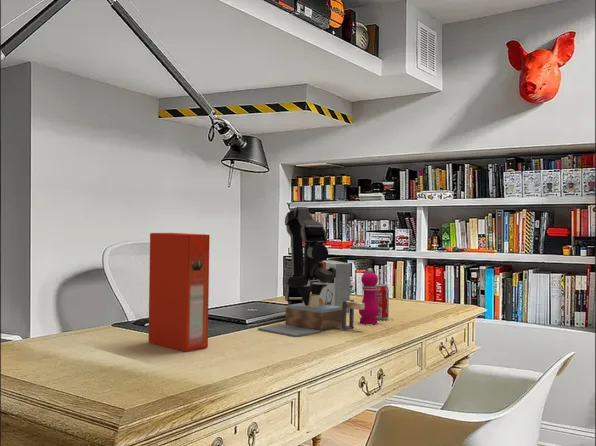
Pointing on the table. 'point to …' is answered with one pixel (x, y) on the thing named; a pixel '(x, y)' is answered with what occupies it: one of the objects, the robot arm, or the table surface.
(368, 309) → the pepper mill
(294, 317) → the open wooden box
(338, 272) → the hard drive box
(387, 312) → the soda can
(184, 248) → the file binder
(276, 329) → the felt pad
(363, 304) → the tan wooden bar
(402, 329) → the table surface
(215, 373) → the table surface
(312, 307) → the lid
